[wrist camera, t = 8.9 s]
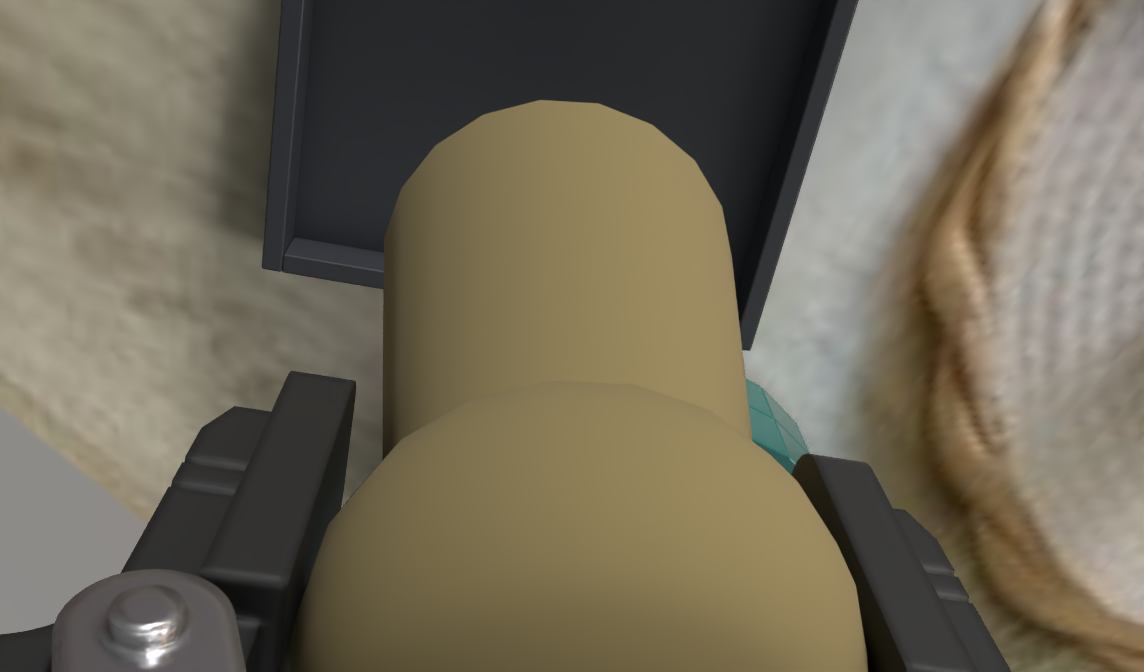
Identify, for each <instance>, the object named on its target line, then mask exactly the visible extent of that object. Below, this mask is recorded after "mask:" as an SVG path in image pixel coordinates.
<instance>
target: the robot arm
mask: <svg viewBox="0 0 1144 672" xmlns="http://www.w3.org/2000/svg"><path fill="white" fill-rule="evenodd" d="M355 394H356V381H353V380H346V379H340V378H334V377H328V376H321V375H315V374H309V373H302V372H296V371H291V372H290V373H289V375H288V376H287V379H286V381H285V383H284V385H283V388H282V390H281V392H280V394H279V396H278V399H277V401H276V403H275V405H274V407H273V410H272V412H269V411H262V410H256V409H249V408H243V407H236V406H234V407H233V408H231V409H230V410H228V411H227V412H225V413H224V414H222V415H221V416H219V417H217V418H216V419H214V420H213V421H211V422H210V423H208V424H207V425H205V426H204V427H202V428H201V430H200V432H199V433H198V435H197V437H196V439H195V441H194V442H193V444H192V446H191V448H190V450H189V451H188V453H187V455H186V457H185V462H184V463H183V462H182V464H181V466H180V468H179V469H178V471H177V473H176V475H175V477H174V478H173V480H172V485H171V487H168V489H167V491H166V493H165V494H164V496H163V498H162V500H161V502H160V503H159V505H158V507H157V509H156V511H155V512H154V514H153V516H152V518H151V520H150V521H149V523H148V525H147V527H146V529H145V530H144V532H143V534H142V536H141V538H140V539H139V541H138V543H137V545H136V547H135V548H134V550H133V552H132V554H131V556H130V557H129V559H128V561H127V563H126V564H125V566H124V568H123V570H122V572H121V573H120V574H117V575H114V576H110V577H108V578H105V579H103V580H100V581H98V582H96V583H94V584H92V585H90V586H89V587H86V588H85V589H84V590H82V591H81V592H79V593H78V594H77V595H75V596H74V597H73V598H72V599H71V600H70V601H69V602H68V603H67V604H66V605H65V606H64V607H63V609H62V610H61V612H60V613H59V614H58V616H57V619H56V621H55V623H54V624H51V625H48V626H45V627H41V628H37V629H33V630H29V631H24V632H17V633H10V634H2V635H0V672H290V649H289V640H290V635H291V630H292V627H293V624H294V621H295V618H296V614H297V611H298V608H299V605H300V602H301V599H302V596H303V593H304V590H305V587H306V584H307V582H308V579H309V576H310V573H311V571H312V568H313V565H314V562H315V560H316V557H317V554H318V551H319V549H320V546H321V543H322V541H323V538H324V535H325V532H326V530H327V527H328V525H329V523H330V522H331V521H332V520H333V518H334V517H335V516H336V515H337V513H338V512H339V511H340V510H341V504H342V498H343V491H344V483H345V475H346V467H347V459H348V451H349V443H350V435H351V427H352V419H353V411H354V403H355ZM791 476H792V477H793V478H794V479H795V480H796V481H797V482H798V483H799V485H800V486H801V488H802V489H803V491H804V492H805V494H806V496H807V497H808V499H809V500H810V502H811V503H812V505H813V507H814V508H815V510H816V511H817V513H818V514H819V516H820V518H821V519H822V521H823V522H824V524H825V525H826V527H827V529H828V530H829V532H830V533H831V535H832V536H833V538H834V540H835V541H836V543H837V545H838V547H839V549H840V551H841V554H842V556H843V558H844V560H845V562H846V565H847V567H848V569H849V571H850V573H851V576H852V578H853V580H854V582H855V584H856V589H857V596H858V602H859V608H860V614H861V621H862V627H863V633H864V639H865V645H866V652H867V664H868V672H1011V670H1010V669H1009V667H1008V665H1007V663H1006V662H1005V660H1004V658H1003V656H1002V654H1001V653H1000V651H999V649H998V647H997V646H996V644H995V642H994V640H993V638H992V637H991V635H990V633H989V631H988V630H987V628H986V626H985V624H984V623H983V621H982V619H981V617H980V615H979V614H978V612H977V610H976V608H975V607H974V605H973V603H969V602H968V599H969V596H968V594H967V592H966V591H965V589H964V587H963V585H962V584H961V582H960V580H959V578H958V577H954V569H953V568H952V566H951V564H950V562H949V560H948V559H947V557H946V555H945V553H944V552H943V550H942V548H941V546H940V545H939V543H938V541H937V539H935V538H934V537H933V536H932V535H931V534H930V533H929V532H928V531H927V530H926V529H925V528H924V527H923V526H921V525H920V524H919V523H918V522H917V521H916V520H915V519H914V518H913V517H912V516H911V515H910V514H909V513H908V512H906V511H905V510H901V509H894V508H892V506H891V504H890V502H889V501H888V499H887V497H886V495H885V493H884V491H883V489H882V487H881V485H880V483H879V482H878V480H877V478H876V476H875V474H874V472H873V470H872V469H871V467H870V466H869V465H868V464H867V463H864V462H858V461H852V460H846V459H839V458H833V457H827V456H820V455H814V454H804V455H802V456H801V457H800V458H799V459H798V461H797V462H796V464H795V466H794V469H793V471H792V474H791Z"/></svg>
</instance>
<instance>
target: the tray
mask: <svg viewBox="0 0 1144 672" xmlns="http://www.w3.org/2000/svg"><path fill="white" fill-rule="evenodd" d="M858 1H859V0H282V4H281V17H280V31H279V44H278V57H277V71H276V84H275V98H274V111H273V124H272V138H271V151H270V165H269V178H268V191H267V205H266V218H265V232H264V245H263V259H262V268H263V269H268V270H274V271H279V272H280V271H283V272H285V273H291V274H297V275H302V276H308V277H314V278H320V279H326V280H332V281H338V282H344V283H350V284H356V285H362V286H368V287H373V288H379V289H384V237H385V234H386V231H387V228H388V225H389V222H390V219H391V217H392V214H393V211H394V208H395V205H396V202H397V199H398V196H399V193H400V190H401V188H402V187H403V186H404V184H405V183H406V182H407V181H408V179H409V178H410V177H411V175H412V174H413V173H414V172H415V170H416V169H417V168H418V167H419V165H420V164H421V163H422V162H423V160H424V159H425V158H426V157H427V155H428V154H429V153H430V152H431V150H432V149H433V148H434V146H435V145H437V144H438V143H440V142H441V141H443V140H445V139H446V138H448V137H449V136H451V135H452V134H454V133H455V132H457V131H459V130H460V129H462V128H463V127H465V126H466V125H468V124H469V123H471V122H473V121H474V120H476V119H477V118H479V117H480V116H482V115H484V114H487V113H491V112H495V111H499V110H503V109H507V108H511V107H515V106H518V105H522V104H526V103H530V102H534V101H538V100H550V101H567V102H583V103H599V104H601V105H604V106H607V107H609V108H612V109H614V110H617V111H619V112H622V113H624V114H627V115H629V116H632V117H634V118H637V119H639V120H642V121H644V122H647V123H649V124H652V125H653V126H655V127H656V128H657V129H658V130H659V131H661V132H662V133H663V134H664V135H665V136H666V137H668V138H669V139H670V140H671V141H672V142H674V143H675V144H676V145H677V146H678V147H679V148H681V149H682V150H683V151H684V152H685V153H687V154H688V155H689V156H690V157H691V158H692V159H694V160H695V162H696V163H697V165H698V167H699V168H700V170H701V172H702V173H703V175H704V177H705V179H706V180H707V182H708V184H709V185H710V187H711V189H712V190H713V192H714V194H715V195H716V197H717V199H718V201H719V202H720V204H721V206H722V209H723V214H724V219H725V224H726V230H727V235H728V240H729V245H730V250H731V255H732V263H733V272H734V281H735V290H736V299H737V307H738V316H739V325H740V334H741V343H742V350H748V351H749V350H751V347H752V344H753V340H754V337H755V334H756V331H757V328H758V324H759V321H760V318H761V315H762V311H763V308H764V305H765V302H766V298H767V295H768V292H769V289H770V285H771V282H772V279H773V276H774V272H775V269H776V266H777V263H778V260H779V256H780V253H781V250H782V247H783V243H784V240H785V237H786V234H787V230H788V227H789V224H790V221H791V217H792V214H793V211H794V208H795V204H796V201H797V198H798V195H799V192H800V188H801V185H802V182H803V179H804V175H805V172H806V169H807V166H808V162H809V159H810V156H811V153H812V149H813V146H814V143H815V140H816V137H817V133H818V130H819V127H820V124H821V120H822V117H823V114H824V111H825V107H826V104H827V101H828V98H829V94H830V91H831V88H832V85H833V81H834V78H835V75H836V72H837V69H838V65H839V62H840V59H841V56H842V52H843V49H844V46H845V43H846V39H847V36H848V33H849V30H850V26H851V23H852V20H853V17H854V13H855V10H856V7H857V4H858Z"/></svg>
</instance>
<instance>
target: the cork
mask: <svg viewBox="0 0 1144 672" xmlns="http://www.w3.org/2000/svg"><path fill="white" fill-rule="evenodd" d="M289 649H290V672H868V664H867V652H866V645H865V639H864V633H863V627H862V621H861V614H860V608H859V602H858V596H857V589H856V584H855V582H854V580H853V578H852V576H851V573H850V571H849V569H848V567H847V565H846V562H845V560H844V558H843V556H842V554H841V551H840V549H839V547H838V545H837V543H836V541H835V540H834V538H833V536H832V535H831V533H830V532H829V530H828V529H827V527H826V525H825V524H824V522H823V521H822V519H821V518H820V516H819V514H818V513H817V511H816V510H815V508H814V507H813V505H812V503H811V502H810V500H809V499H808V497H807V496H806V494H805V492H804V491H803V489H802V488H801V486H800V485H799V483H798V482H797V481H796V480H795V479H794V478H793V477H792V476H791V475H790V474H789V473H788V472H787V471H786V470H785V469H784V468H783V467H782V466H781V465H780V464H779V463H778V462H777V461H776V460H775V459H774V458H773V457H772V456H771V455H770V454H769V453H768V452H766V451H765V450H764V449H762V448H761V447H759V446H758V445H757V444H755V443H754V442H753V440H752V431H751V422H750V414H749V405H748V396H747V387H746V378H745V369H744V360H743V352H742V343H741V334H740V325H739V316H738V307H737V299H736V290H735V281H734V272H733V263H732V255H731V250H730V245H729V240H728V235H727V230H726V224H725V219H724V214H723V209H722V206H721V204H720V202H719V201H718V199H717V197H716V195H715V194H714V192H713V190H712V189H711V187H710V185H709V184H708V182H707V180H706V179H705V177H704V175H703V173H702V172H701V170H700V168H699V167H698V165H697V163H696V162H695V160H694V159H692V158H691V157H690V156H689V155H688V154H687V153H685V152H684V151H683V150H682V149H681V148H679V147H678V146H677V145H676V144H675V143H674V142H672V141H671V140H670V139H669V138H668V137H666V136H665V135H664V134H663V133H662V132H661V131H659V130H658V129H657V128H656V127H655V126H653V125H652V124H649V123H647V122H644V121H642V120H639V119H637V118H634V117H632V116H629V115H627V114H624V113H622V112H619V111H617V110H614V109H612V108H609V107H607V106H604V105H601V104H599V103H583V102H567V101H550V100H538V101H534V102H530V103H526V104H522V105H518V106H515V107H511V108H507V109H503V110H499V111H495V112H491V113H487V114H484V115H482V116H480V117H479V118H477V119H476V120H474V121H473V122H471V123H469V124H468V125H466V126H465V127H463V128H462V129H460V130H459V131H457V132H455V133H454V134H452V135H451V136H449V137H448V138H446V139H445V140H443V141H441V142H440V143H438V144H437V145H435V146H434V148H433V149H432V150H431V152H430V153H429V154H428V155H427V157H426V158H425V159H424V160H423V162H422V163H421V164H420V165H419V167H418V168H417V169H416V170H415V172H414V173H413V174H412V175H411V177H410V178H409V179H408V181H407V182H406V183H405V184H404V186H403V187H402V188H401V190H400V193H399V196H398V199H397V202H396V205H395V208H394V211H393V214H392V217H391V219H390V222H389V225H388V228H387V231H386V234H385V237H384V310H383V461H382V462H381V463H380V464H379V465H378V466H377V468H376V469H375V470H374V471H373V472H372V473H371V474H370V475H369V477H368V478H367V479H366V480H365V481H364V482H363V483H362V485H361V486H360V487H359V488H358V489H357V490H356V491H355V492H354V494H353V495H352V496H351V497H350V499H349V500H348V501H347V502H346V504H345V505H344V506H343V507H342V508H341V510H340V511H339V512H338V513H337V515H336V516H335V517H334V518H333V520H332V521H331V522H330V523H329V525H328V527H327V530H326V532H325V535H324V538H323V541H322V543H321V546H320V549H319V551H318V554H317V557H316V560H315V562H314V565H313V568H312V571H311V573H310V576H309V579H308V582H307V584H306V587H305V590H304V593H303V596H302V599H301V602H300V605H299V608H298V611H297V614H296V618H295V621H294V624H293V627H292V630H291V635H290V640H289Z"/></svg>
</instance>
